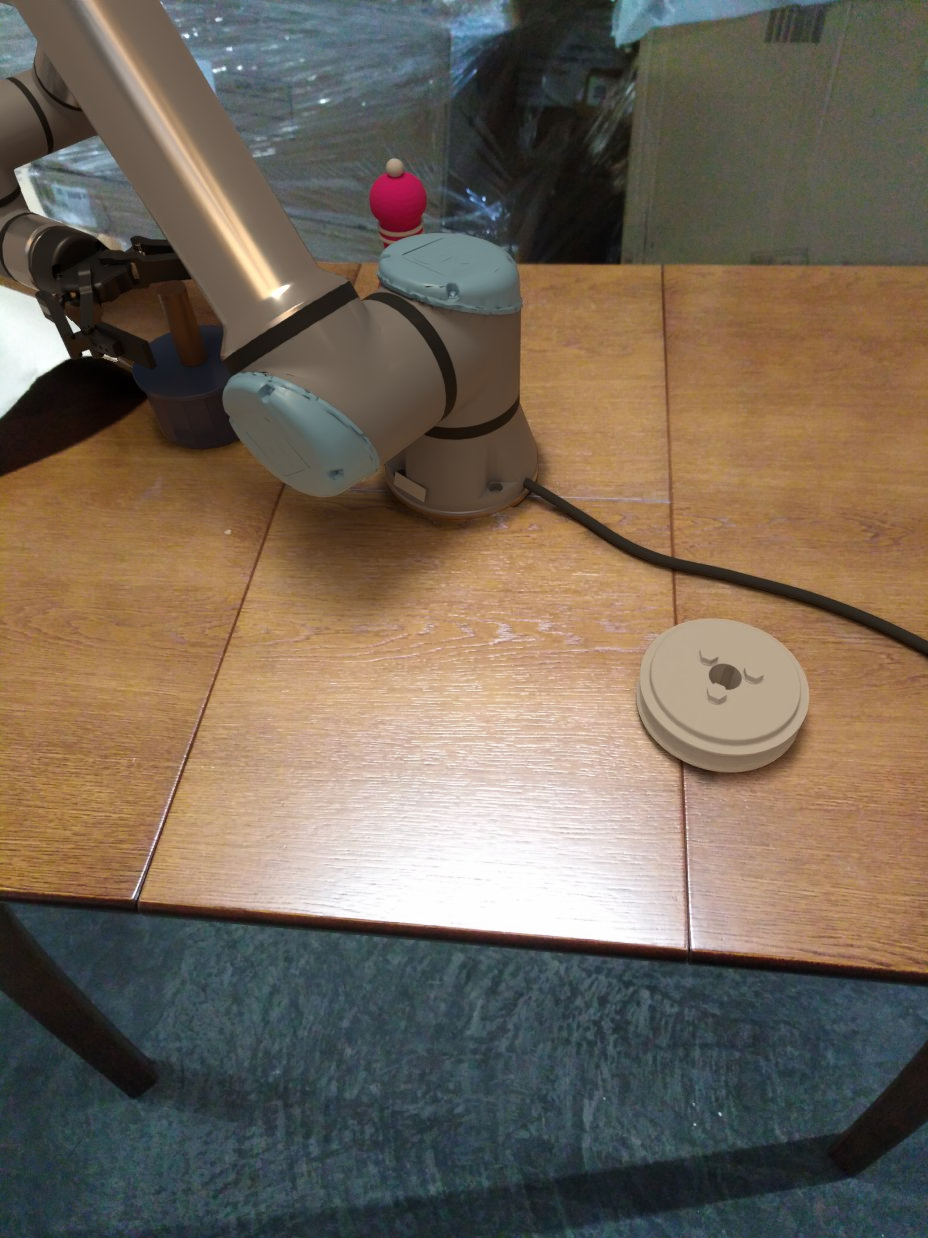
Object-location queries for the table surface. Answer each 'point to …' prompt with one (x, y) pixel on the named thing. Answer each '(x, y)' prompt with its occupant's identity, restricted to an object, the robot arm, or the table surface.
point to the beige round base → (721, 695)
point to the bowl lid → (183, 353)
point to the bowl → (194, 422)
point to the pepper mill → (397, 204)
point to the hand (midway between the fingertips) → (202, 320)
